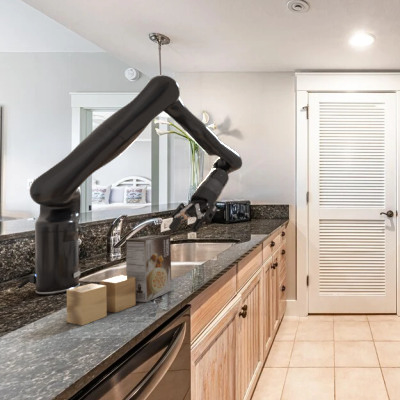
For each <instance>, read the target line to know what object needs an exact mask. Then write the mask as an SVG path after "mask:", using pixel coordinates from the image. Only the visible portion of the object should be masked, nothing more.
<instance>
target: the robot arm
mask: <svg viewBox="0 0 400 400" xmlns="http://www.w3.org/2000/svg"><path fill="white" fill-rule="evenodd" d="M180 95H181V88H180V85H179V84H178V82H177V81H176V80H175V79H174V78H173V77H171V76H169V75H165V74H159V75H158V74H157V75H155V76H153V77H151V78H150V79H149V80H148V82H147V84H146V85H145V86H144V87H143V88H142V90H140V91H139V93H138V94H137V95H136V96H135V97H134V98H133V99H132V100H131V101H130V102H128V103H127V104H126V105H124V106H122V107H121V108H119V109H118V110H117V111H115V112H114V113H113V114H111V115H109V116H108V117H107V118H106V119H105V120H103V121H102V122H101V123H100V124H99V125H98V126H96V127H95V128H94V129H93V130H92V131H91V132H90V133H89V134H88V135H87V136H86V137H85V138H84V139H83V140H81V142H79V143H78V145H76V147H75V148H74V149H73V150H72V151H70V152H69V154H68V155H67V156H66V157H64V158H63V159H61V160H60V161H59V162H57V163H56V164H55V165H53V166H52V167H50V168H49V169H48V170H46V171H44V172H43V173H42V174H41V175H39V176H38V177H36V178H35V179H34V180H33V181H32V182H31V184H30V187H29V196H30V198H31V200H32V202H34V203H36V204H37V205H38V206H39V215H38V217H37V219H36V221H35V223H34V242H35V243H34V246H35V249H34V250H35V259H34V273H32V274H29V278H27V279H25V280H24V281H22V282H21V283H19V285H18V286H17V288H18V289H22V288H23V287H24V286H25V285H27V284H35V286H34V287H35V295H38V296H49V295H50V296H52V295H59V294H64V293H67V290H69V289H73V288H76V287H80V286H81V285H80V284H81V283H80V276H81V270H80V247H79V246H80V244H79V243H80V241H79V240H80V239H79V223H80V219H81V205H82V203H81V202H82V201H81V200H82V197H81V196H82V195H81V186H82V184H83V183H85V182H86V180H87V179H88V178H90V176H91V175H93V174H94V173H95V172H97V171H99V170H100V169H101V168H103V167H105V166H106V165H108V164H110V163H111V162H113V161H115V160H116V159H117V158H119V157H120V156H121V155H123V153H124V152H125V151H127V150H128V148H129V147H131V146H132V145H133V144H134V143H135V141H136V140H137V139H138V138H139V137H140V136H141V135H142V134H143V132H144V131H145V130H146V129H147V128H148V127H149V125H150V123H152V121H154V119H156V118H157V117H158V116H159V115H161V114H162V113H163V112H164V113H165V114H166V115H167V116H168V117H170V118H171V119H172V120H173V121H174V122H175V123H176V124H177V125H179V126H180V127H181V128H182V129H183V130H184V131H185V132H186V134H187V135H188V136H189V137H190V138H191V139H192V140H193V141H194V142H195V143H196V144H197V145H198V146H199V147H200V148H201V150H203V151H204V153H205V154H207V155H208V156H210V157H212V156H216V157H217V158H216V160H215V161H214V163H213V165H212V167H211V170H210V172H209V173H208V174H207V175H206V177H205V178H204V180H202V182H201V183H199V185H198V186H197V188H196V189H195V190H194V192H193V193H192V194H191V197H190V202H189V203H188V204H185V203H184V202H181V203H179V205H178V206H177V207H176V208H175V210H174V211H173V212H172V213H171V214H170V217H171V218H172V219H173V220H172V221H171V222H170V224H169V226H168V229H169V230H170V231H171V232H175V231H176V230H177V229H178V227H179V226H180V224H181V223H182V222H183V221H185V220H189V219H191V218H196V220H195V221H194V222H193V224H192V225H191V227H190V230H191V231H192V232H193V233H197V232H199V230H200V229H201V227H202V226H203V225H204V224H205V223H210V222H211V221H212V219H213V218H214V217H215V214H216V213H217V212H218V208H217V207H216V205H215V204H216V203H217V201H218V199H219V198H220V196H221V194H222V193H223V191H224V189H225V187H226V186H227V185H228V182H229V180H230V176H229V174H231V173H233V172H235V171H239V170H240V169H241V168H242V167H243V159H242V157H241V155H240V154H239V153H238V152H237V151H236V150H235V149H233V148H232V147H231V146H229V145H228V144H226V143H224V142H223V141H221V139H220V138H219V137H218V135H216V133H214V131H213V130H212V129H211V128H210V127H209V126H208V125H206V124H205V123H204V122H203V121H202V120H200V119H199V118H198V117H197V116H196V115H195V114H194V113H193V112H192V111H190V110H189V108H188V107H187V106H186V105H185V104H184V102H183V101H182V99H181V98H180ZM186 214H187V215H186Z"/></svg>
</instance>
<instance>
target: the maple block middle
mask: <svg viewBox="0 0 400 400" xmlns="http://www.w3.org/2000/svg"><path fill="white" fill-rule="evenodd" d="M99 283H100V285H105V286H106V303H107V312H108V313H115V314H117V313H119V312H121V311H124V310H126V309H129V308H131V307H132V308H133V307H134V306H136V301H135V277H129V276H127V275H117V276H113V277H109V278H105V279H103V280H100V281H99Z"/></svg>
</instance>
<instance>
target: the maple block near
mask: <svg viewBox="0 0 400 400" xmlns="http://www.w3.org/2000/svg"><path fill="white" fill-rule="evenodd" d="M107 314H108V311H107V303H106V286H105V285H101V284H97V283H88V284H83V285H80V287H76V288H73V289H69V290H67V292H66V323H70V324H74V325H79V326H86V325H88V324H91V323H93V322H95V321H99V320H100V319H103V318H106V317H108V316H107Z"/></svg>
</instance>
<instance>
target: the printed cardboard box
mask: <svg viewBox="0 0 400 400" xmlns="http://www.w3.org/2000/svg"><path fill="white" fill-rule="evenodd" d="M171 246H172V245H171V234H165V235H163V234H151V235H150V234H149V235H145V236H138V237H134V238H128V239H125V259H126V260H125V265H126V266H125V267H126V268H125V269H126V276H129V277H135V302H141V303H148V302H150V301H152V300H155V299H157V298H159V297H161V296H163V295H165V294H167V293H170V292H171V291H172V289H173V288H172V257H171V256H172V251H171V250H172V248H171Z"/></svg>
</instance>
